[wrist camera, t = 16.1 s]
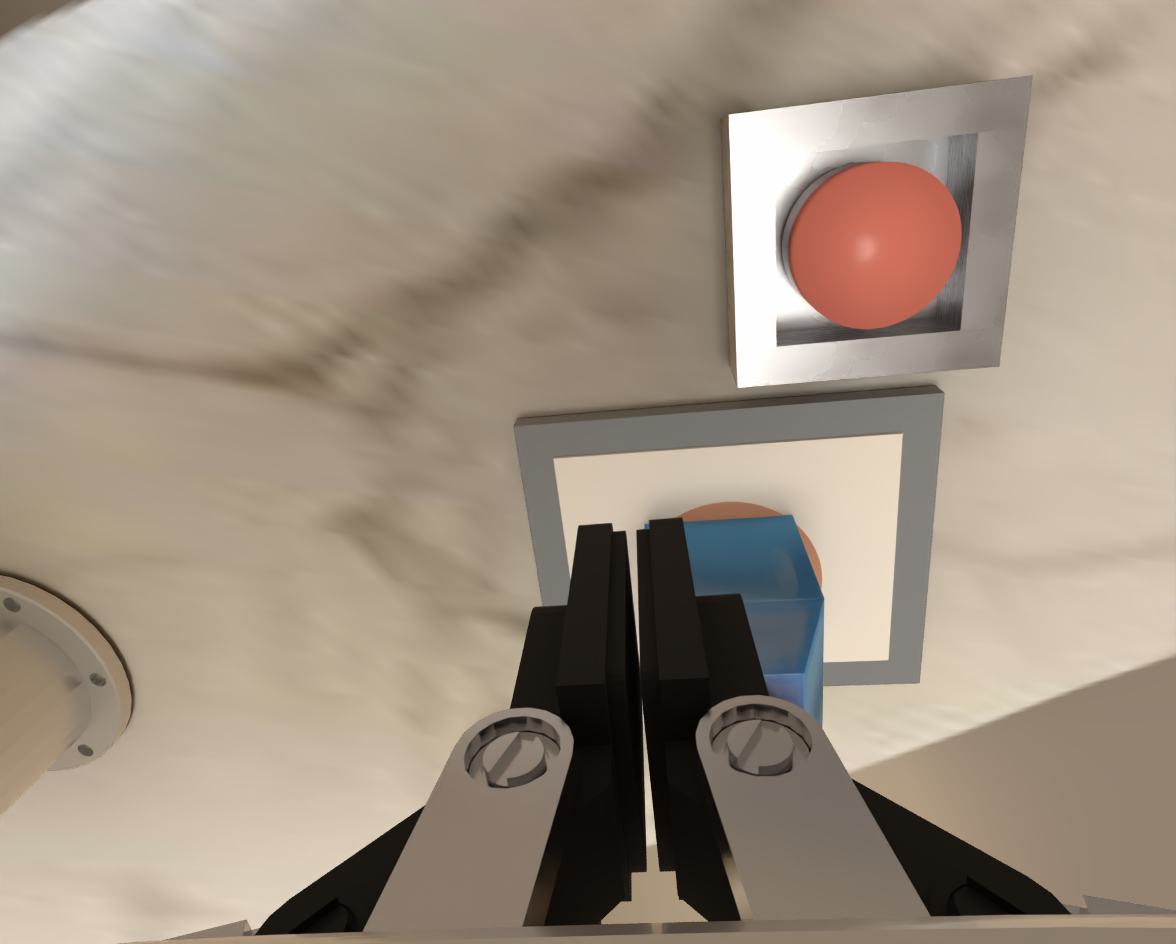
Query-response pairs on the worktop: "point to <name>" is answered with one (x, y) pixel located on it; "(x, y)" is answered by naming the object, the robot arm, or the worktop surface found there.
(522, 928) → the robot arm
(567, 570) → the board
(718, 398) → the worktop surface
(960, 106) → the button base
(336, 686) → the worktop surface
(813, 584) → the perfume bottle
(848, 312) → the button
